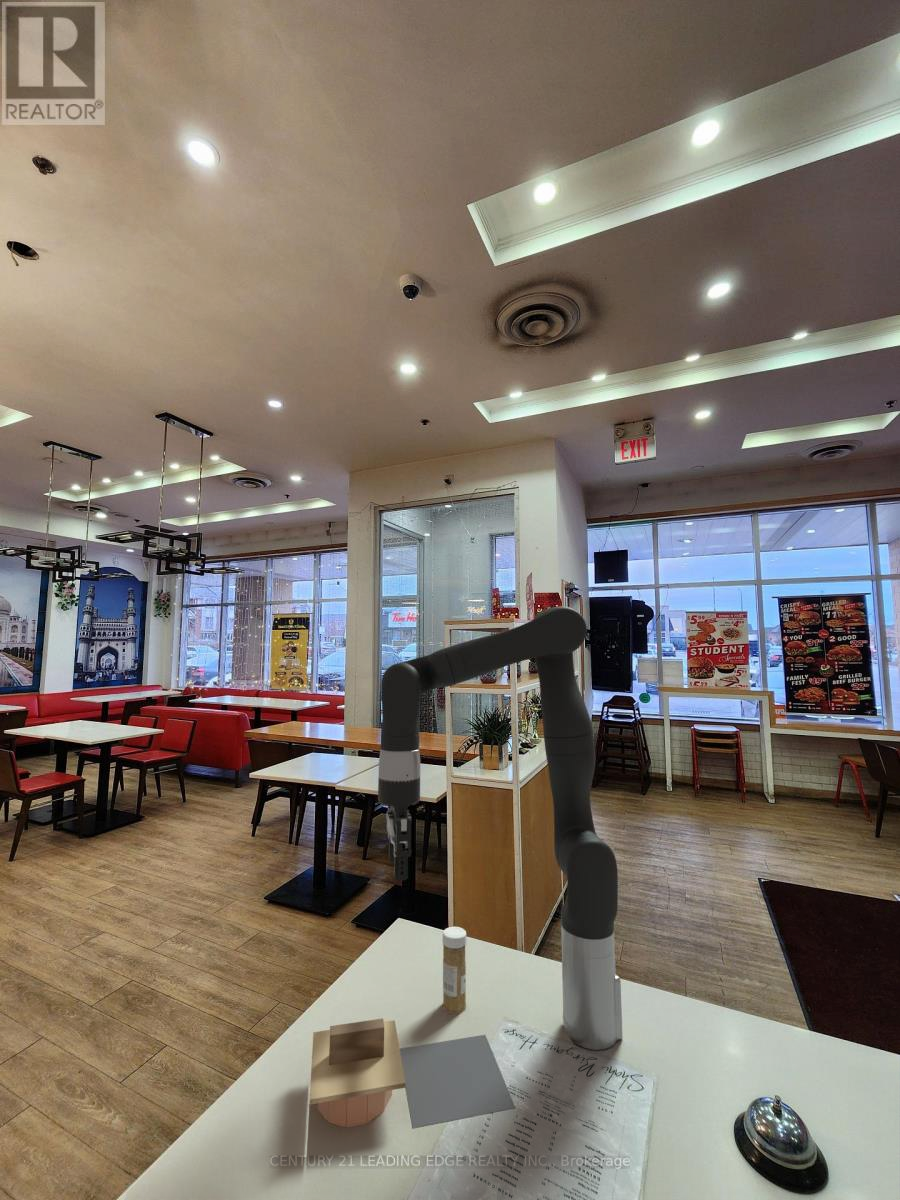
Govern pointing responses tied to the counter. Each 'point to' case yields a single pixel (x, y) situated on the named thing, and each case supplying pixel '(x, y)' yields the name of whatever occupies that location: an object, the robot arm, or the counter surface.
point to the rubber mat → (453, 1081)
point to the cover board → (355, 1061)
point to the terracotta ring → (355, 1109)
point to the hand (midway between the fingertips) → (397, 869)
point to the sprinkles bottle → (454, 970)
